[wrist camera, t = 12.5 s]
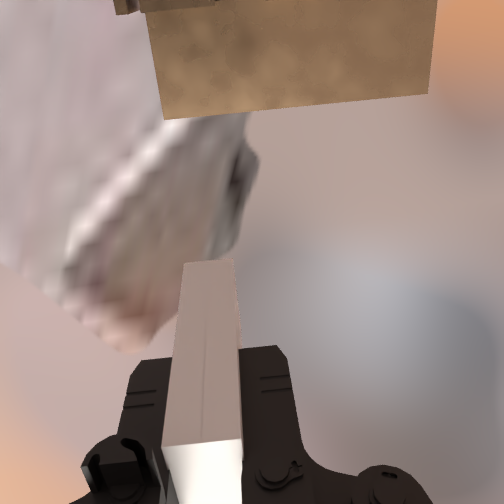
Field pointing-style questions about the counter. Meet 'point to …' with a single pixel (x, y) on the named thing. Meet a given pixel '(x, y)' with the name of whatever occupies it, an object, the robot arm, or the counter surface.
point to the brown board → (284, 52)
